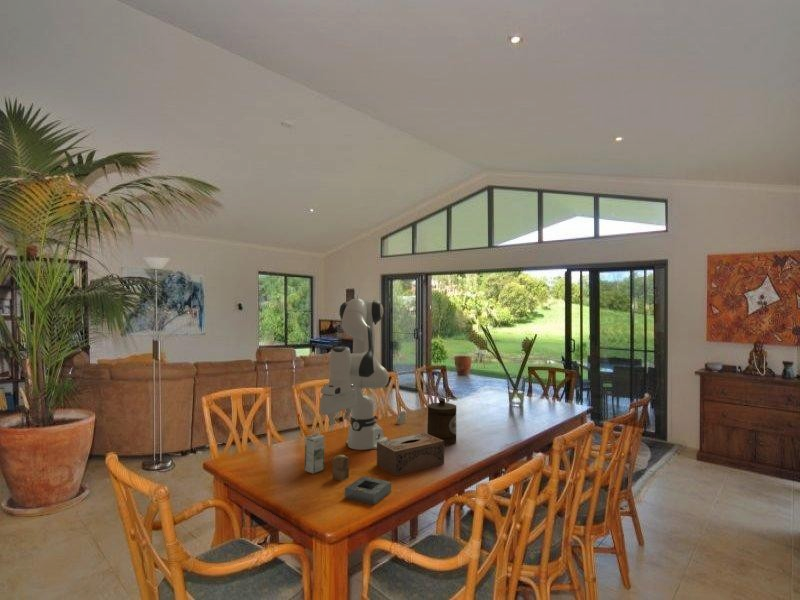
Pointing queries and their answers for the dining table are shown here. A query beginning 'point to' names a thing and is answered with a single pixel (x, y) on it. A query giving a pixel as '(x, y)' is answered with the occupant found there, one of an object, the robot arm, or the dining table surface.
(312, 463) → the syrup box
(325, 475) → the dining table surface
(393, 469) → the tissue box cover
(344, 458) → the brown block with knob
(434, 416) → the wooden container
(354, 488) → the grey square socket base
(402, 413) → the architectural model
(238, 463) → the dining table surface
